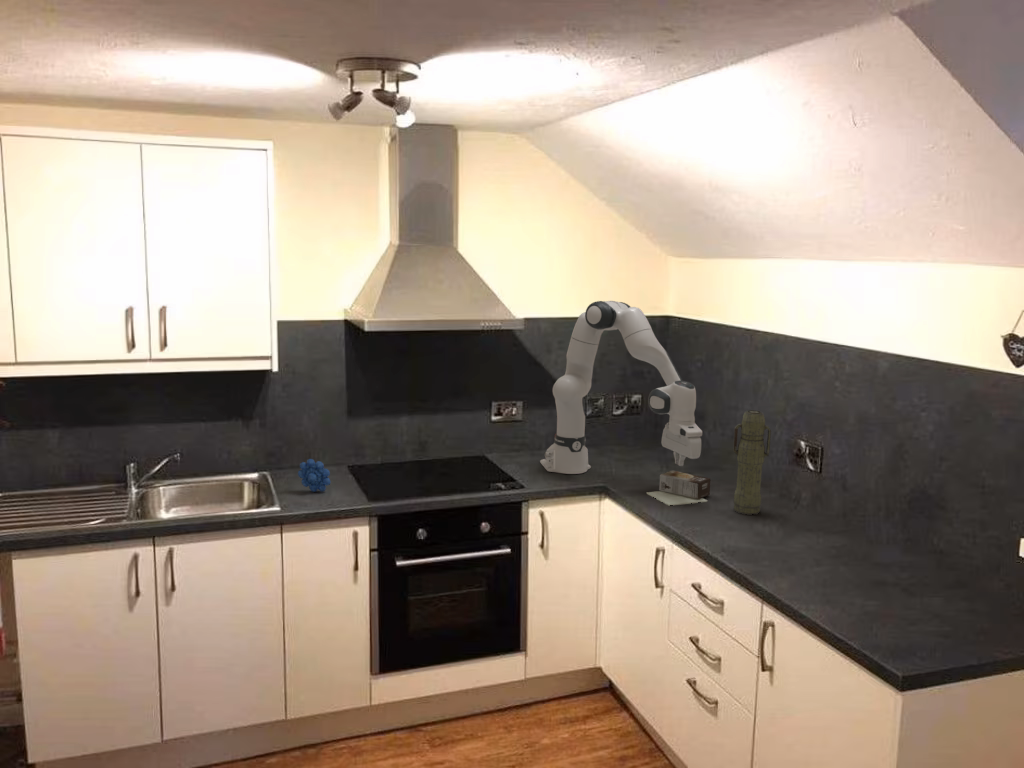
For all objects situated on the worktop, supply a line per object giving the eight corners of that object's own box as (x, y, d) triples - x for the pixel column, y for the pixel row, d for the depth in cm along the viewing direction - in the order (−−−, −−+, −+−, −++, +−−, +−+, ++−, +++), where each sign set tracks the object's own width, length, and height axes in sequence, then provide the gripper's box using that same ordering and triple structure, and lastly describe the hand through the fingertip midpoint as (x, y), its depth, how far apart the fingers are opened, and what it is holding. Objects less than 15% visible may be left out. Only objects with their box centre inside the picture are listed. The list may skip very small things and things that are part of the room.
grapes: (294, 494, 302) (294, 461, 300) (299, 489, 309) (299, 456, 307) (327, 495, 302) (327, 462, 300) (332, 490, 309) (332, 457, 307)
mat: (646, 493, 315) (646, 492, 315) (683, 490, 321) (684, 488, 321) (668, 505, 301) (668, 504, 301) (707, 501, 307) (707, 500, 307)
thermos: (727, 506, 303) (734, 408, 297) (762, 508, 302) (769, 409, 296) (730, 513, 294) (737, 413, 289) (765, 516, 293) (774, 415, 287)
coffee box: (671, 469, 323) (711, 477, 313) (670, 486, 324) (710, 494, 314) (659, 474, 316) (699, 483, 306) (658, 491, 317) (698, 500, 307)
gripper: (658, 421, 315) (656, 458, 317) (689, 433, 296) (687, 472, 298) (673, 420, 317) (671, 457, 319) (705, 432, 298) (702, 471, 301)
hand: (679, 464), depth 309 cm, fingers closed
